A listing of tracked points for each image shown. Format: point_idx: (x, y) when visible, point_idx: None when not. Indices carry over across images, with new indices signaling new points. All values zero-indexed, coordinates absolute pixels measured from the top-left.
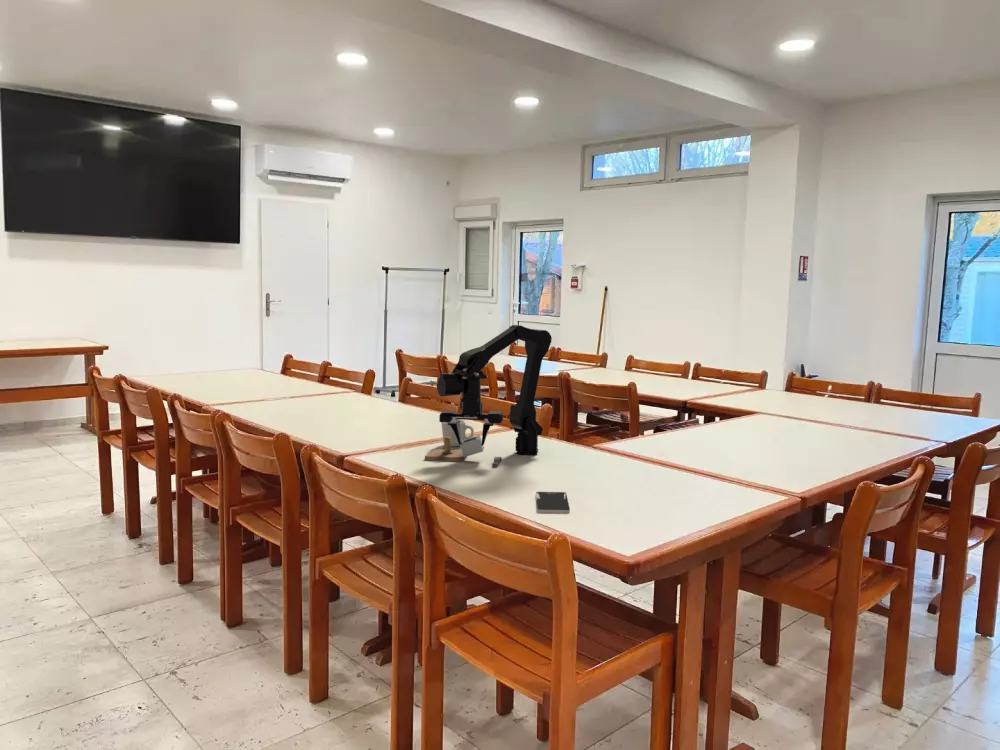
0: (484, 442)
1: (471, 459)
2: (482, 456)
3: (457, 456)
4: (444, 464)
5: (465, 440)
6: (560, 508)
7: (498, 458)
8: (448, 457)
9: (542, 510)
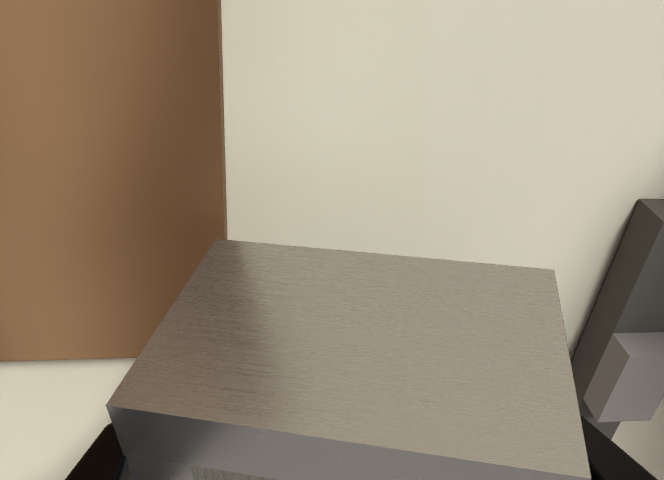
0: (597, 439)
1: (312, 209)
2: (472, 3)
3: (123, 316)
4: (46, 441)
5: (217, 461)
6: None
7: (648, 413)
8: (11, 358)
9: None
